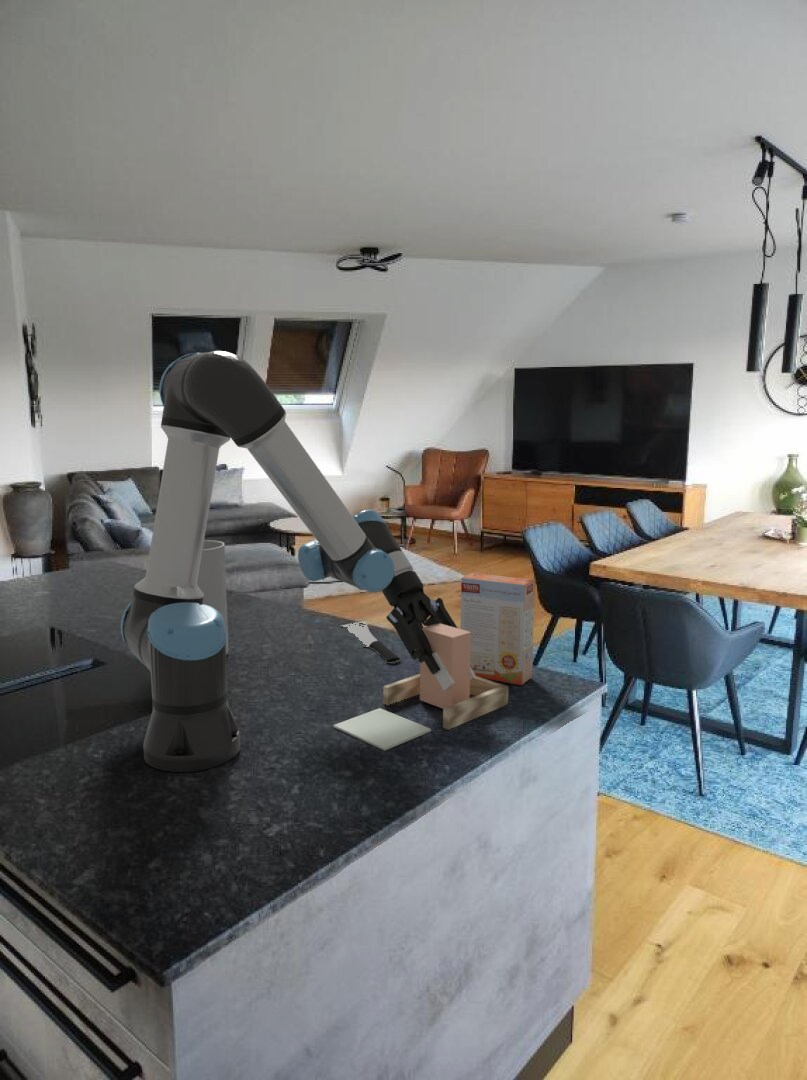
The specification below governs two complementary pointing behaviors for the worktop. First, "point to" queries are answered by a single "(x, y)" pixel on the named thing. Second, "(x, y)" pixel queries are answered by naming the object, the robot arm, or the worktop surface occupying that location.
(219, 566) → the cylinder vase
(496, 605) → the cracker box
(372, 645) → the kitchen cleaver
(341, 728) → the sage mat
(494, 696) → the birch bay
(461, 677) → the peach block
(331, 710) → the worktop surface
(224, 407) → the robot arm
